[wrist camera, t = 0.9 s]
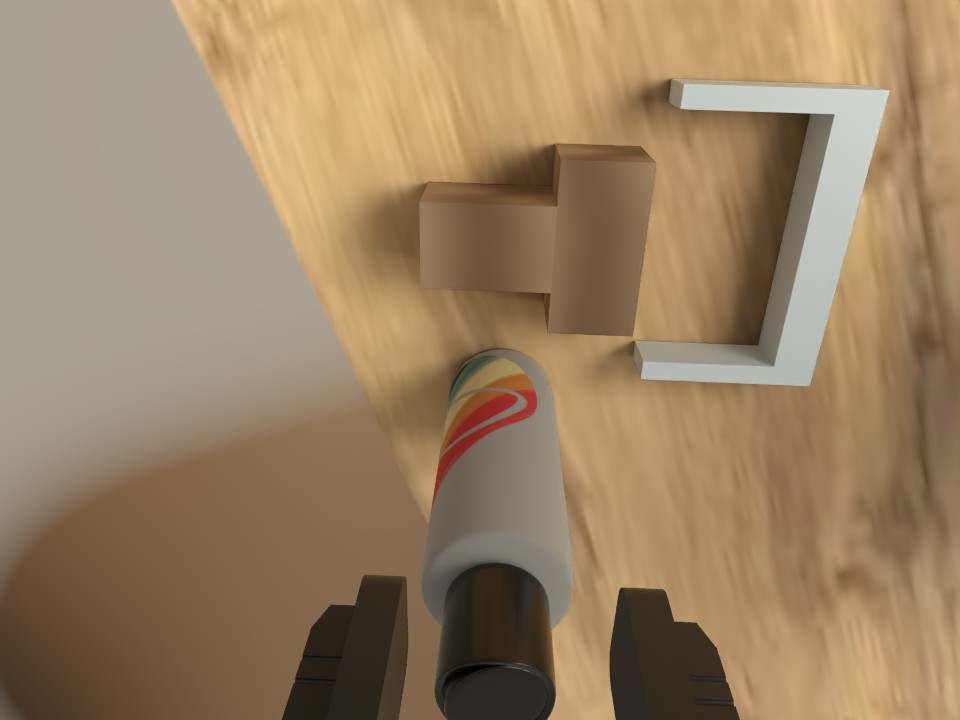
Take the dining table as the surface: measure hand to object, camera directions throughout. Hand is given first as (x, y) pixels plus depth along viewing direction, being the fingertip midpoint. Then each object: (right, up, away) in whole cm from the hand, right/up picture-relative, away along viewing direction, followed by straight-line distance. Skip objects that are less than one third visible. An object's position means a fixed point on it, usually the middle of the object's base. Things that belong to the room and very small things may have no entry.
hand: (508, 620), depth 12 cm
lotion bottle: (+1, +3, +27) cm, 27 cm away
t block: (+2, +11, +23) cm, 25 cm away
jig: (+13, +11, +22) cm, 28 cm away
